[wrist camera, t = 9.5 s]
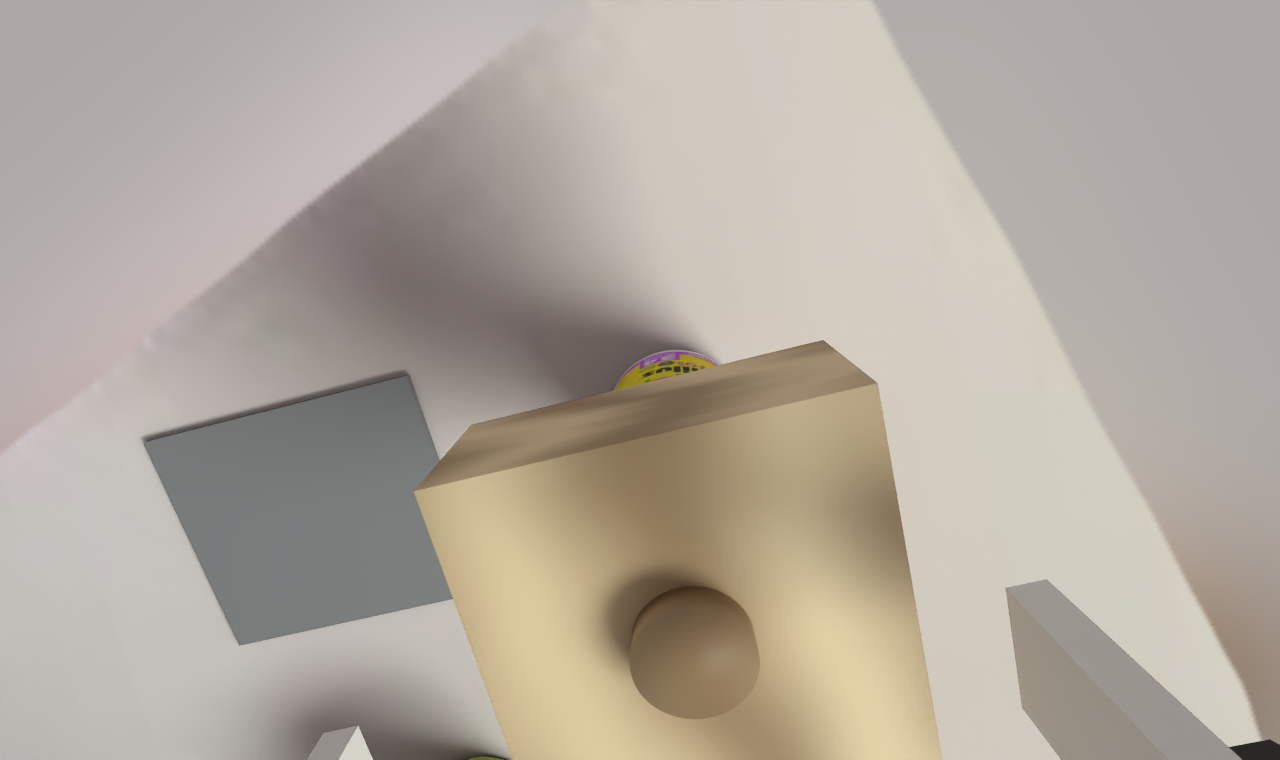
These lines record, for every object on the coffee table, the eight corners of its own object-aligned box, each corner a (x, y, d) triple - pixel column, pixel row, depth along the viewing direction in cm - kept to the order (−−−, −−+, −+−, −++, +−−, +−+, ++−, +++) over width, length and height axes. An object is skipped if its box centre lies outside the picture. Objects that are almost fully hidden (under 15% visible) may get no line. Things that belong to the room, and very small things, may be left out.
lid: (568, 714, 21) (539, 879, 16) (471, 424, 18) (399, 507, 13) (882, 652, 20) (960, 806, 15) (822, 340, 18) (891, 394, 12)
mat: (242, 642, 36) (238, 645, 35) (147, 440, 33) (143, 442, 32) (485, 588, 34) (483, 592, 34) (408, 374, 31) (406, 376, 31)
